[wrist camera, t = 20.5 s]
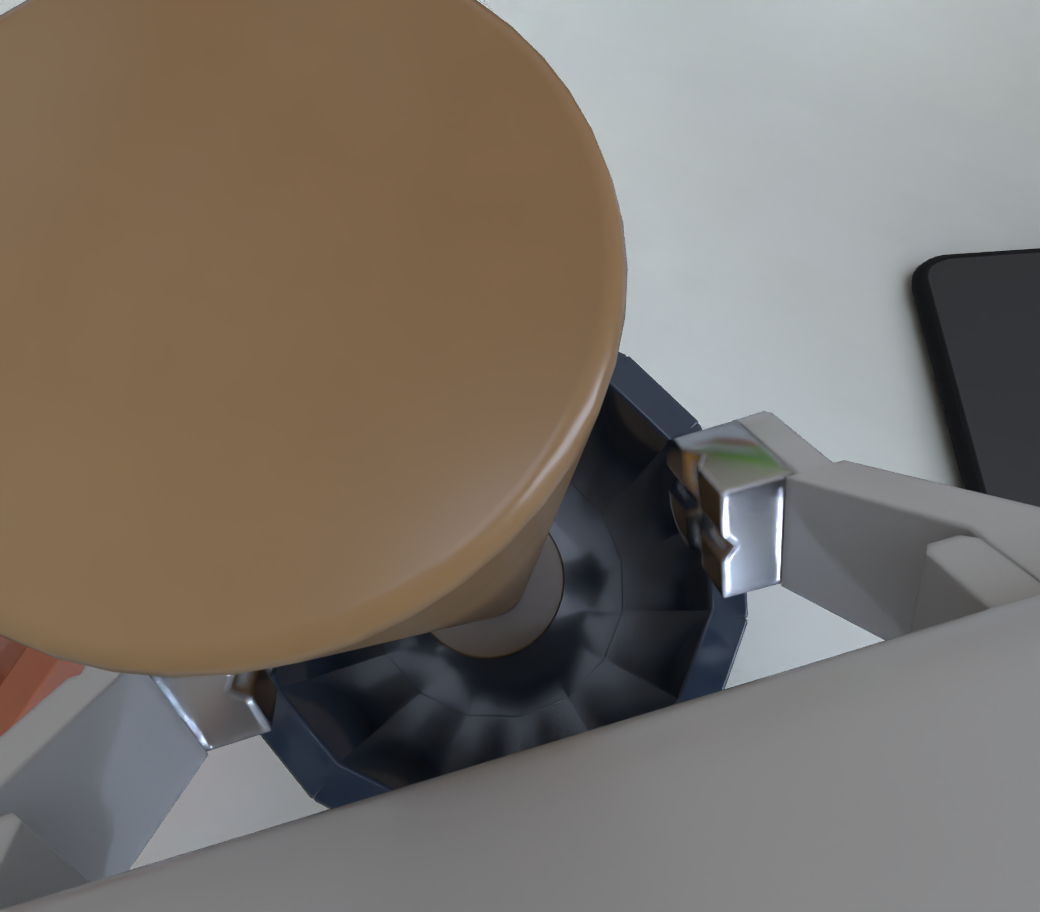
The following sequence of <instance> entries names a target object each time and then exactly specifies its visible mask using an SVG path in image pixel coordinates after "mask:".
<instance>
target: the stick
mask: <svg viewBox="0 0 1040 912" xmlns="http://www.w3.org/2000/svg"><path fill="white" fill-rule="evenodd" d="M627 271H628V269H627V258H626V248H625V237H624V227H623V221H622V217H621V213H620V208H619V204H618V200H617V196H616V192H615V188H614V184H613V180H612V178H611V175H610V173H609V170H608V168H607V165H606V163H605V160H604V158H603V155H602V153H601V150H600V148H599V145H598V143H597V140H596V138H595V136H594V134H593V131H592V129H591V127H590V125H589V124H588V122H587V120H586V118H585V117H584V115H583V113H582V112H581V110H580V108H579V106H578V105H577V103H576V101H575V100H574V98H573V96H572V94H571V93H570V91H569V90H568V88H567V87H566V86H565V84H564V83H563V82H562V81H561V79H560V78H559V77H558V76H557V74H556V73H555V72H554V70H553V69H552V68H551V67H550V65H549V64H548V63H547V62H546V60H545V59H544V58H543V56H542V55H540V54H539V53H538V52H537V51H536V50H535V49H534V48H533V47H532V46H531V45H530V44H529V43H528V42H527V41H526V40H525V39H524V38H523V37H522V36H521V35H520V34H519V33H518V32H517V31H516V30H515V29H514V28H513V27H512V26H510V25H509V24H508V23H506V22H505V21H504V20H502V19H501V18H500V17H498V16H497V15H496V14H494V13H493V12H492V11H490V10H489V9H488V8H486V7H485V6H484V5H482V4H481V3H480V2H478V1H477V0H26V1H25V2H23V3H21V4H19V5H18V6H16V7H14V8H12V9H11V10H9V11H7V12H5V13H4V14H2V15H0V636H2V637H4V638H6V639H9V640H11V641H14V642H16V643H19V644H21V645H24V646H26V647H29V648H31V649H34V650H36V651H39V652H41V653H44V654H46V655H49V656H51V657H54V658H56V659H60V660H64V661H69V662H73V663H77V664H81V665H86V666H90V667H94V668H98V669H102V670H107V671H111V672H117V673H128V674H139V675H151V676H162V677H173V678H175V677H196V676H216V675H235V674H241V673H246V672H252V671H257V670H262V669H268V668H273V667H279V666H284V665H289V664H295V663H299V662H304V661H308V660H312V659H317V658H321V657H325V656H330V655H334V654H338V653H342V652H347V651H351V650H355V649H360V648H364V647H368V646H373V645H377V644H381V643H386V642H390V641H394V640H399V639H403V638H407V637H411V636H416V635H420V634H424V633H429V632H430V634H431V635H432V636H433V637H434V638H436V639H437V640H438V641H439V642H440V643H442V644H443V645H444V646H446V647H447V648H449V649H451V650H453V651H455V652H457V653H459V654H462V655H465V656H469V657H473V658H482V659H491V658H500V657H505V656H508V655H512V654H515V653H517V652H519V651H521V650H523V649H525V648H527V647H528V646H530V645H531V644H533V643H534V642H535V641H536V640H537V639H539V638H540V637H541V636H542V635H543V634H544V632H545V631H546V630H547V629H548V628H549V626H550V625H551V623H552V622H553V620H554V619H555V617H556V615H557V612H558V610H559V608H560V605H561V602H562V598H563V593H564V584H565V576H564V566H563V561H562V557H561V554H560V551H559V549H558V547H557V545H556V543H555V541H554V539H553V538H552V536H551V535H550V533H549V531H550V529H551V526H552V524H553V522H554V519H555V517H556V514H557V512H558V510H559V507H560V505H561V502H562V500H563V498H564V495H565V493H566V491H567V488H568V486H569V483H570V481H571V479H572V476H573V474H574V471H575V469H576V467H577V464H578V462H579V460H580V457H581V455H582V452H583V450H584V448H585V445H586V443H587V441H588V438H589V436H590V433H591V431H592V429H593V426H594V424H595V421H596V419H597V417H598V414H599V412H600V409H601V406H602V403H603V400H604V397H605V394H606V392H607V389H608V386H609V383H610V380H611V377H612V374H613V371H614V369H615V366H616V361H617V356H618V351H619V346H620V341H621V336H622V330H623V325H624V320H625V311H626V291H627Z"/></svg>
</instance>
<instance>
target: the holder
mask: <svg viewBox="0 0 1040 912" xmlns="http://www.w3.org/2000/svg"><path fill="white" fill-rule="evenodd" d="M701 430H702V428H701V426H700V425H699V424H698V421H697V420H696V419H695V418H694V417H693V416H692V415H691V414H690V413H689V412H688V411H687V410H686V409H684V408H683V407H682V406H681V405H680V404H679V403H678V402H677V401H676V400H675V399H674V398H673V397H672V396H671V395H670V394H669V393H668V392H666V391H665V390H664V389H663V388H662V387H661V386H660V385H659V384H658V383H657V382H656V381H655V380H654V379H653V378H652V377H651V376H649V375H648V374H647V373H646V372H645V371H644V370H643V369H642V368H641V367H640V366H639V365H638V364H637V363H636V362H635V361H634V360H633V359H631V358H630V357H629V356H628V357H626V355H625V354H622V353H620V352H618V356H617V361H616V366H615V369H614V371H613V374H612V377H611V380H610V383H609V386H608V389H607V392H606V394H605V397H604V400H603V403H602V406H601V409H600V412H599V414H598V417H597V419H596V421H595V424H594V426H593V429H592V431H591V433H590V436H589V438H588V441H587V443H586V445H585V448H584V450H583V452H582V455H581V457H580V460H579V462H578V464H577V467H576V469H575V471H574V474H573V476H572V479H571V481H570V483H569V486H568V488H567V491H566V493H565V495H564V498H563V500H562V502H561V505H560V507H559V510H558V512H557V514H556V517H555V519H554V522H553V524H552V526H551V529H550V531H549V533H550V535H551V536H552V538H553V539H554V541H555V543H556V545H557V547H558V549H559V551H560V554H561V557H562V561H563V566H564V576H565V584H564V593H563V598H562V602H561V605H560V608H559V610H558V612H557V615H556V617H555V619H554V620H553V622H552V623H551V625H550V626H549V628H548V629H547V630H546V631H545V632H544V634H543V635H542V636H541V637H540V638H539V639H537V640H536V641H535V642H534V643H533V644H531V645H530V646H528V647H527V648H525V649H523V650H521V651H519V652H517V653H515V654H512V655H508V656H505V657H500V658H491V659H482V658H473V657H469V656H465V655H462V654H459V653H457V652H455V651H453V650H451V649H449V648H447V647H446V646H444V645H443V644H442V643H440V642H439V641H438V640H437V639H436V638H434V637H433V636H432V635H431V634H430V632H429V633H424V634H420V635H416V636H411V637H407V638H403V639H399V640H394V641H390V642H386V643H381V644H377V645H373V646H368V647H364V648H360V649H355V650H351V651H347V652H342V653H338V654H334V655H330V656H325V657H321V658H317V659H312V660H308V661H304V662H299V663H295V664H289V665H284V666H280V667H279V668H278V669H277V671H276V672H275V673H274V674H273V675H272V677H271V679H272V681H273V682H274V684H275V686H276V687H277V689H278V692H277V698H276V705H275V711H274V717H273V723H272V729H271V731H269V732H266V733H263V734H260V735H261V736H262V738H263V739H264V740H265V741H266V743H267V744H268V745H269V746H270V748H271V749H272V750H273V751H274V753H275V754H276V755H277V756H278V758H279V759H280V760H281V761H282V763H283V764H284V765H285V766H286V768H287V769H288V770H289V771H290V773H291V774H292V775H293V776H294V778H295V779H296V780H297V781H298V783H299V784H300V785H301V786H302V788H303V789H304V790H305V791H306V793H307V794H308V795H309V796H310V797H311V798H314V800H315V801H316V802H317V803H319V804H321V805H323V806H325V807H327V808H329V809H333V808H336V807H339V806H343V805H346V804H349V803H352V802H356V801H359V800H362V799H366V798H369V797H372V796H375V795H379V794H382V793H385V792H389V791H392V790H395V789H398V788H402V787H405V786H408V785H412V784H415V783H418V782H421V781H425V780H428V779H431V778H435V777H438V776H441V775H444V774H448V773H451V772H454V771H458V770H461V769H464V768H467V767H471V766H474V765H477V764H481V763H484V762H487V761H490V760H494V759H497V758H500V757H503V756H507V755H510V754H513V753H517V752H520V751H523V750H526V749H530V748H533V747H536V746H540V745H543V744H546V743H549V742H553V741H556V740H559V739H563V738H566V737H569V736H572V735H576V734H579V733H582V732H586V731H589V730H592V729H595V728H599V727H602V726H605V725H609V724H612V723H615V722H618V721H622V720H625V719H628V718H632V717H635V716H638V715H642V714H645V713H648V712H652V711H655V710H658V709H661V708H665V707H668V706H671V705H675V704H678V703H681V702H685V701H688V700H691V699H695V698H698V697H701V696H704V695H708V694H711V693H714V692H718V691H721V690H724V689H725V686H726V683H727V680H728V678H729V675H730V672H731V669H732V666H733V663H734V660H735V657H736V654H737V651H738V649H739V646H740V643H741V640H742V637H743V634H744V631H745V628H746V625H747V620H746V619H745V618H747V615H748V609H747V592H745V593H742V594H738V595H734V596H730V597H726V598H723V597H722V595H721V594H720V592H719V591H718V590H717V588H716V587H715V585H714V584H713V582H712V581H711V580H710V578H709V577H708V575H707V574H706V572H705V571H704V569H703V568H702V558H701V553H700V552H698V551H696V550H693V549H691V548H689V547H688V546H687V544H686V543H685V541H684V540H683V538H682V537H681V535H680V533H679V531H678V528H677V526H676V524H675V521H674V517H673V513H672V510H671V505H670V496H669V488H670V486H671V485H672V483H673V481H674V479H675V478H676V476H675V475H674V473H673V472H672V471H671V469H670V468H669V467H668V465H667V459H666V447H667V440H670V439H674V438H677V437H680V436H684V435H687V434H691V433H694V432H697V431H701Z"/></svg>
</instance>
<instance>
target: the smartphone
mask: <svg viewBox="0 0 1040 912" xmlns="http://www.w3.org/2000/svg"><path fill="white" fill-rule="evenodd" d="M912 290H913V294H914V298H915V302H916V305H917V309H918V313H919V317H920V320H921V324H922V328H923V332H924V336H925V339H926V343H927V347H928V351H929V355H930V358H931V362H932V366H933V370H934V373H935V377H936V381H937V385H938V389H939V392H940V396H941V400H942V404H943V408H944V411H945V415H946V419H947V423H948V426H949V430H950V434H951V438H952V442H953V445H954V449H955V453H956V457H957V461H958V464H959V468H960V472H961V476H962V479H963V483H964V487H965V489H966V490H970V491H974V492H978V493H983V494H987V495H991V496H995V497H999V498H1004V499H1008V500H1012V501H1016V502H1020V503H1024V504H1029V505H1033V506H1037V507H1040V248H1039V249H1024V250H1009V251H994V252H980V253H965V254H950V255H941V256H937V257H934V258H931V259H929V260H927V261H925V262H924V263H923V264H921V265H920V266H919V267H918V268H917V269H916V271H915V272H914V274H913V277H912Z"/></svg>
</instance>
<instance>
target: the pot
mask: <svg viewBox="0 0 1040 912" xmlns="http://www.w3.org/2000/svg"><path fill="white" fill-rule="evenodd" d="M84 667H85V665H81V664H77V663H73V662H69V661H64V660H60V659H56V658H54V657H51V656H49V655H46V654H44V653H41V652H39V651H36V650H34V649H31V648H29V647H26V646H24V645H21V644H19V643H16V642H14V641H11V640H9V639H6V638H4V637H2V636H0V737H1V736H2V735H3V734H4V733H5V732H6V731H8V730H9V729H10V728H11V727H12V726H13V725H14V724H16V723H17V722H18V721H19V720H20V719H21V718H23V717H24V716H25V715H26V714H27V713H28V712H29V711H31V710H32V709H33V708H34V707H35V706H36V705H38V704H39V703H40V702H41V701H42V700H43V699H45V698H46V697H47V696H48V695H49V694H50V693H51V692H53V691H54V690H55V689H56V688H57V687H58V686H60V685H61V684H62V683H63V682H64V681H65V680H66V679H68V678H70V677H74V676H77V675H81V673H82V671H83V669H84Z"/></svg>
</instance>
